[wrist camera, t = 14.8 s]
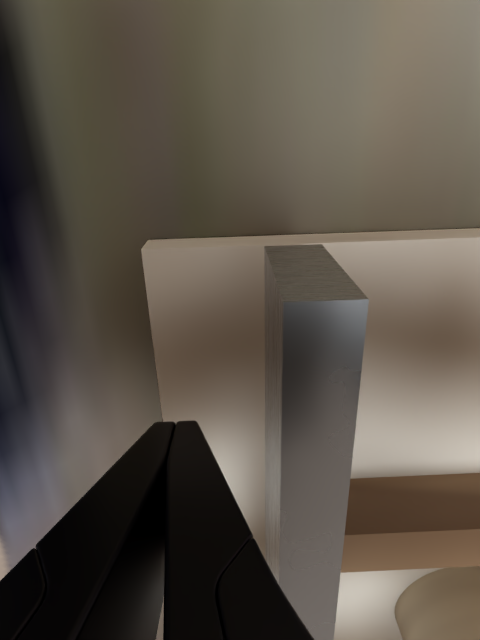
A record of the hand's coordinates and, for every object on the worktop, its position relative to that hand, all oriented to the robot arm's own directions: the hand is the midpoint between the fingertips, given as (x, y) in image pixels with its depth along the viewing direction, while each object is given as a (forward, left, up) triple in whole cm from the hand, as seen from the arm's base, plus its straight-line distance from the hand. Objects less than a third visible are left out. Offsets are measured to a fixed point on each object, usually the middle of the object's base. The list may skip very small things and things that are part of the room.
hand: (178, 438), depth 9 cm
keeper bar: (-7, -3, -3) cm, 8 cm away
